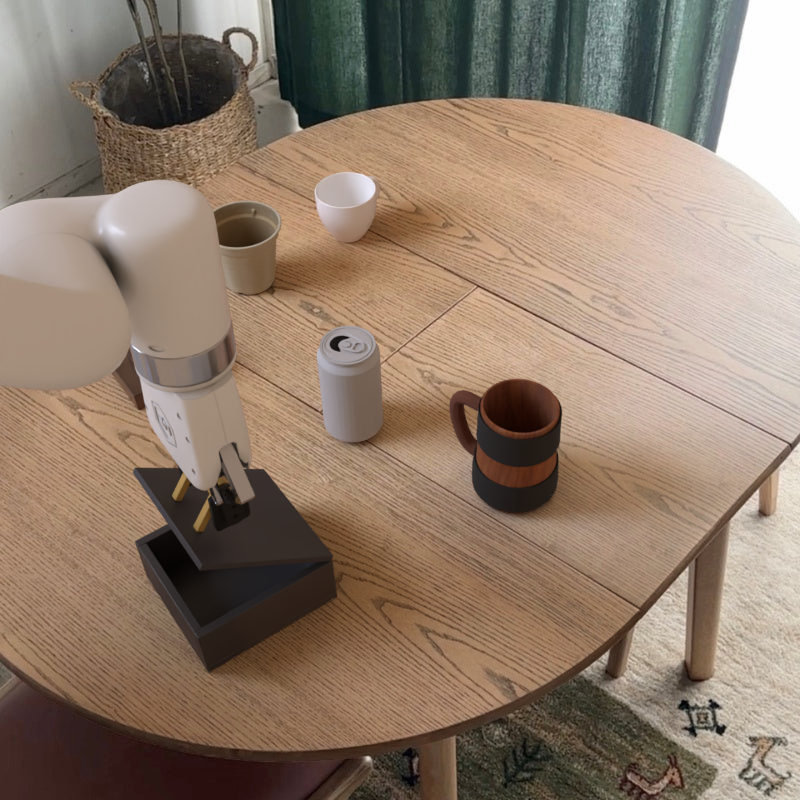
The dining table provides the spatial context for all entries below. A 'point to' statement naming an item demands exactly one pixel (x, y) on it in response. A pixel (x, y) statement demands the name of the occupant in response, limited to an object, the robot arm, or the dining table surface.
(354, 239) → the cup
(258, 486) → the box lid
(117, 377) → the block
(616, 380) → the dining table surface
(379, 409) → the beverage can
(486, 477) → the mug
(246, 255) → the flower pot
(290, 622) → the box case
